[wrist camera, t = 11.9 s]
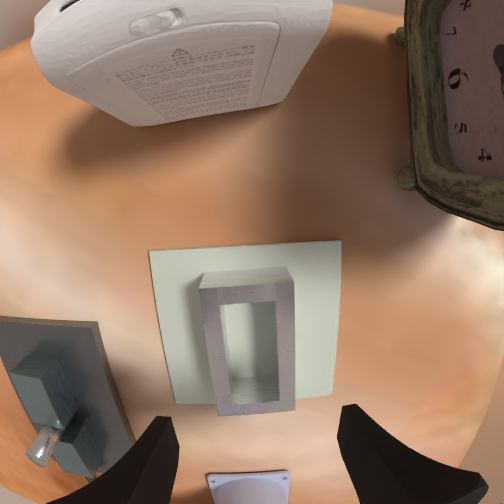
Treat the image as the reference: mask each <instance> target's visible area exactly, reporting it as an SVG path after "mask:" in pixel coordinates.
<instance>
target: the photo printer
mask: <svg viewBox="0 0 504 504" xmlns="http://www.w3.org/2000/svg"><path fill="white" fill-rule="evenodd" d="M332 2H333V0H51V1H50V2H49V3H48V4H47V5H46V6H45V7H44V8H43V9H42V10H41V11H40V12H39V13H38V14H37V15H36V17H35V18H34V23H35V29H34V35H33V37H32V39H31V42H30V45H31V50H32V54H33V56H34V59H35V61H36V64H37V66H38V67H39V69H40V71H41V72H42V74H43V75H44V77H45V78H46V79H47V80H48V81H49V82H50V83H51V84H52V85H53V86H55V87H56V88H58V89H60V90H62V91H64V92H66V93H68V94H71V95H72V96H74V97H77V98H78V99H81V100H83V101H85V102H87V103H88V104H91V105H93V106H94V107H97V108H98V109H100V110H102V111H104V112H106V113H108V114H110V115H112V116H114V117H116V118H118V119H119V120H121V121H123V122H125V123H127V124H129V125H131V126H136V127H137V126H152V125H159V124H164V123H170V122H176V121H180V120H185V119H191V118H196V117H202V116H208V115H214V114H219V113H226V112H232V111H238V110H245V109H251V108H257V107H263V106H268V105H272V104H275V103H279V102H281V101H283V100H284V99H285V98H286V97H287V95H288V93H289V91H290V90H291V88H292V86H293V84H294V83H295V81H296V79H297V78H298V76H299V74H300V73H301V71H302V70H303V68H304V66H305V65H306V63H307V61H308V60H309V58H310V57H311V55H312V53H313V52H314V50H315V48H316V47H317V46H318V44H319V42H320V41H321V39H322V38H323V36H324V35H325V33H326V31H327V29H328V25H329V21H330V18H331V12H332Z"/></svg>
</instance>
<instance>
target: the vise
mask: <svg viewBox="0 0 504 504" xmlns="http://www.w3.org/2000/svg"><path fill="white" fill-rule="evenodd" d="M0 356H1V359H2V362H3V364H4V367H5V369H6V371H7V374H8V376H9V378H10V381H11V383H12V385H13V387H14V389H15V392H16V394H17V396H18V398H19V400H20V402H21V404H22V406H23V408H24V410H25V412H26V414H27V415H28V417H29V419H30V421H31V423H32V425H33V426H34V428H35V430H36V432H37V433H38V435H37V437H36V438H35V440H34V441H33V443H32V444H31V446H30V447H29V449H28V450H27V452H26V455H27V457H28V458H29V459H30V460H31V461H32V462H33V463H35V464H36V465H38V466H40V467H45V466H46V464H47V462H48V460H49V458H50V457H51V456H52V457H53V459H54V460H55V461H57V462H58V464H59V465H60V467H61V468H62V470H63V471H66V472H70V473H73V474H77V475H81V476H85V478H86V479H87V481H88V482H89V483H91V482H92V481H94V480H95V479H97V477H96V475H95V474H96V472H97V471H98V472H102V473H105V472H106V471H107V470H108V469H110V468H111V467H112V466H113V465H114V464H115V463H116V462H117V461H118V460H119V459H120V458H121V457H122V456H123V455H124V454H125V453H126V452H127V451H128V450H129V449H130V448H131V447H132V446H133V445H134V444H135V442H136V439H135V437H134V435H133V432H132V430H131V427H130V425H129V422H128V419H127V417H126V414H125V411H124V409H123V406H122V403H121V400H120V398H119V395H118V392H117V389H116V386H115V383H114V380H113V376H112V373H111V370H110V367H109V363H108V360H107V357H106V353H105V349H104V346H103V342H102V338H101V334H100V330H99V326H98V322H90V321H65V320H47V319H32V318H19V317H7V316H0Z"/></svg>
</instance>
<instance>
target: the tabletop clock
mask: <svg viewBox="0 0 504 504" xmlns="http://www.w3.org/2000/svg"><path fill="white" fill-rule="evenodd" d="M395 37H396V40H397V41H398V42H399V43H400V44H402V45H403V46H405V49H406V71H407V94H408V108H409V129H410V154H411V165H412V167H405V168H403V169H402V170H401V171H400V172H399V175H398V182H399V184H400V186H401V187H402V188H403V189H404V190H407V191H415V190H417V191H418V192H419V193H420V194H421V195H422V196H423V197H424V198H425V199H426V200H427V201H428V202H429V203H431V204H433V205H434V206H436V207H438V208H440V209H442V210H444V211H445V212H447V213H450V214H453V215H456V216H459V217H462V218H465V219H467V220H470V221H473V222H476V223H478V224H481V225H484V226H486V227H489V228H492V229H494V230H500V231H504V0H405V13H404V26H403V27H399V28H397V30H396V33H395Z"/></svg>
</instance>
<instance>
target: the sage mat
mask: <svg viewBox="0 0 504 504" xmlns="http://www.w3.org/2000/svg"><path fill="white" fill-rule="evenodd" d="M149 255H150V263H151V271H152V279H153V286H154V293H155V299H156V306H157V312H158V318H159V324H160V329H161V335H162V340H163V346H164V351H165V356H166V361H167V365H168V370H169V375H170V379H171V384H172V388H173V392H174V397H175V401H176V404H216V400H215V394H214V388H213V383H212V377H211V371H210V365H209V359H208V352H207V346H206V339H205V333H204V326H203V319H202V312H201V304H200V297H199V286H200V283H201V281H202V278H203V275H204V273H205V272H217V271H231V270H245V269H258V268H271V267H283V266H286V267H287V269H288V271H289V273H290V275H291V277H292V278H293V280H294V295H295V399H302V398H311V397H318V396H326V395H332V388H333V379H334V370H335V360H336V349H337V337H338V323H339V307H340V288H341V258H342V241H341V240H331V241H311V242H291V243H271V244H252V245H234V246H215V247H197V248H180V249H162V250H150V251H149ZM224 308H225V317H226V326H227V334H228V343H229V351H230V360H231V368H232V376H233V378H242V377H256V376H267V375H275V366H274V343H273V322H272V302H271V301H268V302H255V303H242V304H228V305H224Z"/></svg>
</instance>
